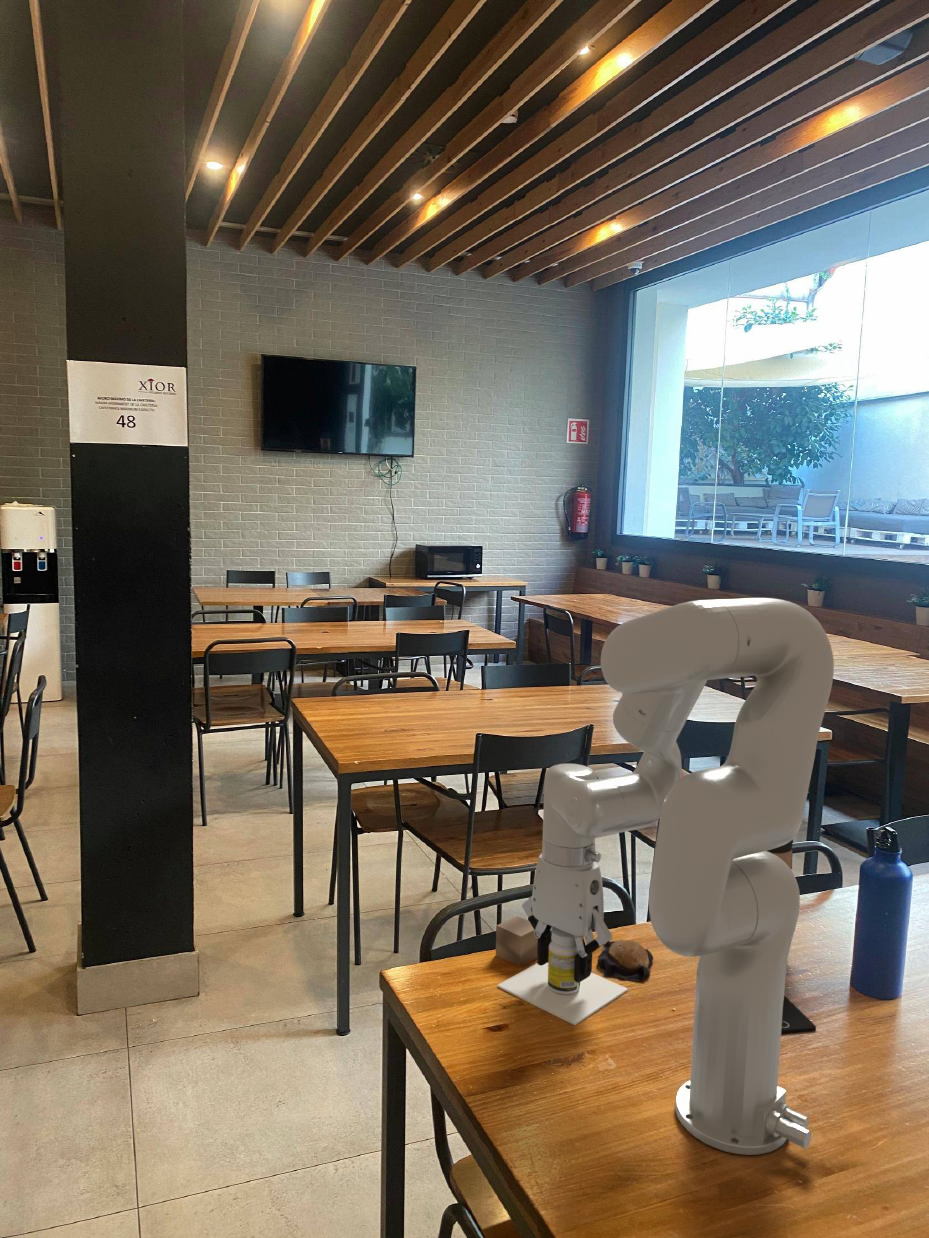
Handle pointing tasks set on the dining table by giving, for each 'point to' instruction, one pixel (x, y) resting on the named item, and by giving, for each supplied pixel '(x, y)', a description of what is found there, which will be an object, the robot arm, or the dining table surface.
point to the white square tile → (564, 1006)
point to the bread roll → (625, 961)
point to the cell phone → (794, 1019)
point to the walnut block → (516, 941)
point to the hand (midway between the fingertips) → (563, 969)
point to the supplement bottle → (562, 962)
